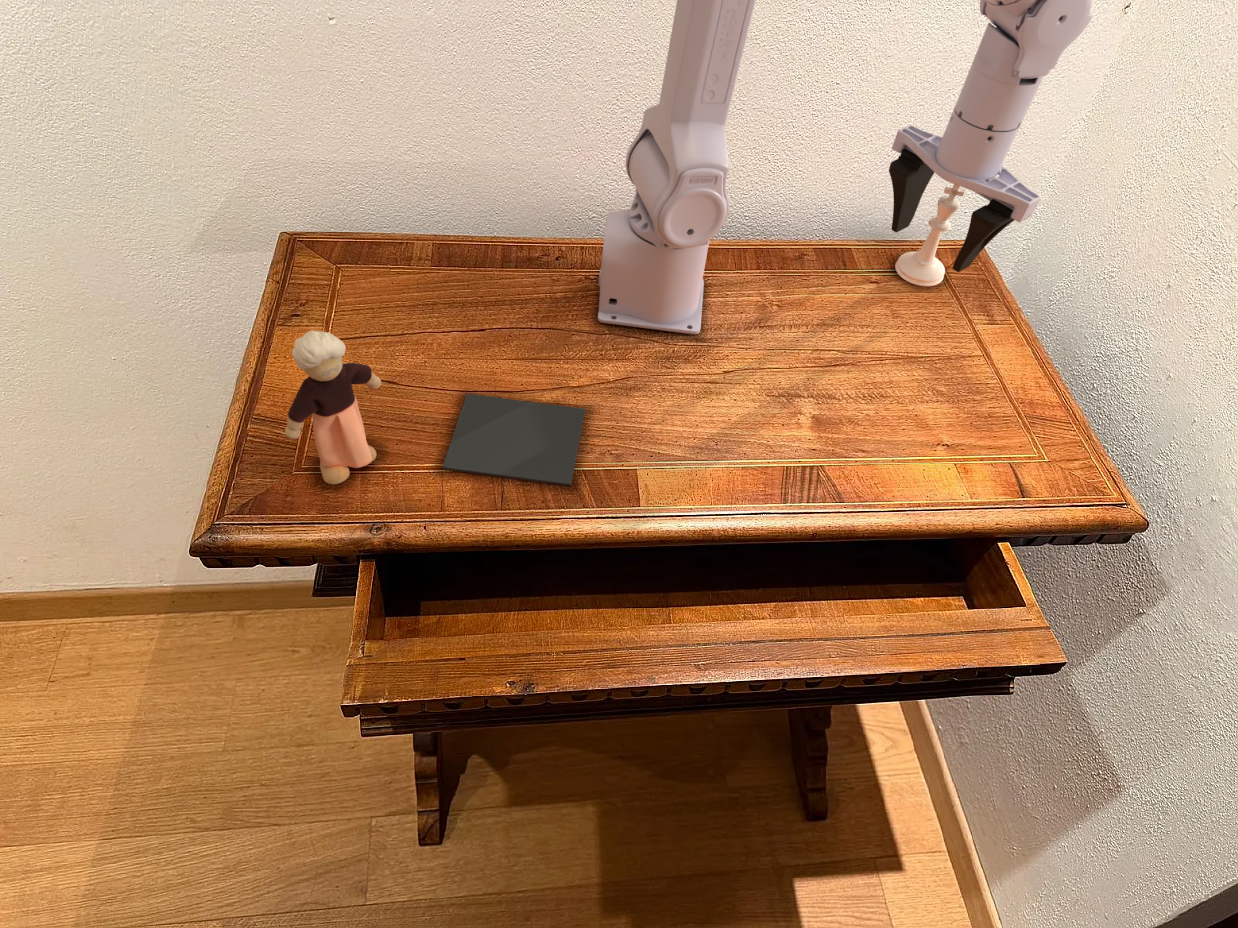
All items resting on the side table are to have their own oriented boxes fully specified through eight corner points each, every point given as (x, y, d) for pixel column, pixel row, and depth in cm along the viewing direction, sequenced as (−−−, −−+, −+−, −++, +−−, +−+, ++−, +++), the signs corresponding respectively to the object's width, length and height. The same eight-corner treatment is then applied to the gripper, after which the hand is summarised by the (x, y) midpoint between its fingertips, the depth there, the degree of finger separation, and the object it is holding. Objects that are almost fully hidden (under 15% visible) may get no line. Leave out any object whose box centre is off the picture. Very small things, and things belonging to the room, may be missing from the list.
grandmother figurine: (335, 503, 59) (291, 381, 49) (297, 479, 60) (247, 356, 50) (405, 438, 63) (378, 315, 53) (369, 418, 64) (336, 293, 54)
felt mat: (442, 469, 61) (442, 467, 61) (467, 395, 66) (466, 393, 66) (570, 486, 61) (570, 484, 61) (585, 411, 66) (585, 408, 66)
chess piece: (944, 290, 80) (987, 202, 72) (895, 281, 80) (932, 193, 72) (941, 261, 83) (982, 174, 75) (894, 253, 83) (929, 165, 76)
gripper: (1086, 139, 67) (1014, 271, 78) (947, 70, 74) (898, 200, 84) (1040, 163, 64) (971, 297, 75) (899, 89, 71) (854, 221, 81)
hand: (929, 247), depth 79 cm, fingers open, 7 cm apart
